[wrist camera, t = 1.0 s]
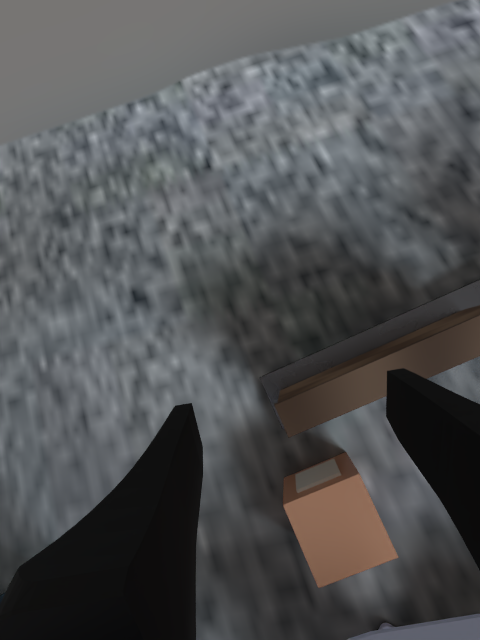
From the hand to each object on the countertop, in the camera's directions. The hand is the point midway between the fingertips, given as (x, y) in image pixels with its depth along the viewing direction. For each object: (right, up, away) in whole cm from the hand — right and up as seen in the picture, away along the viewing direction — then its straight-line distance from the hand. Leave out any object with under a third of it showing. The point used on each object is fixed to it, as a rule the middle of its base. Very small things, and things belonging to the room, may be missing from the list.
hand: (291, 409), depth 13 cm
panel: (+8, +1, +12) cm, 14 cm away
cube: (+5, -10, +13) cm, 17 cm away
